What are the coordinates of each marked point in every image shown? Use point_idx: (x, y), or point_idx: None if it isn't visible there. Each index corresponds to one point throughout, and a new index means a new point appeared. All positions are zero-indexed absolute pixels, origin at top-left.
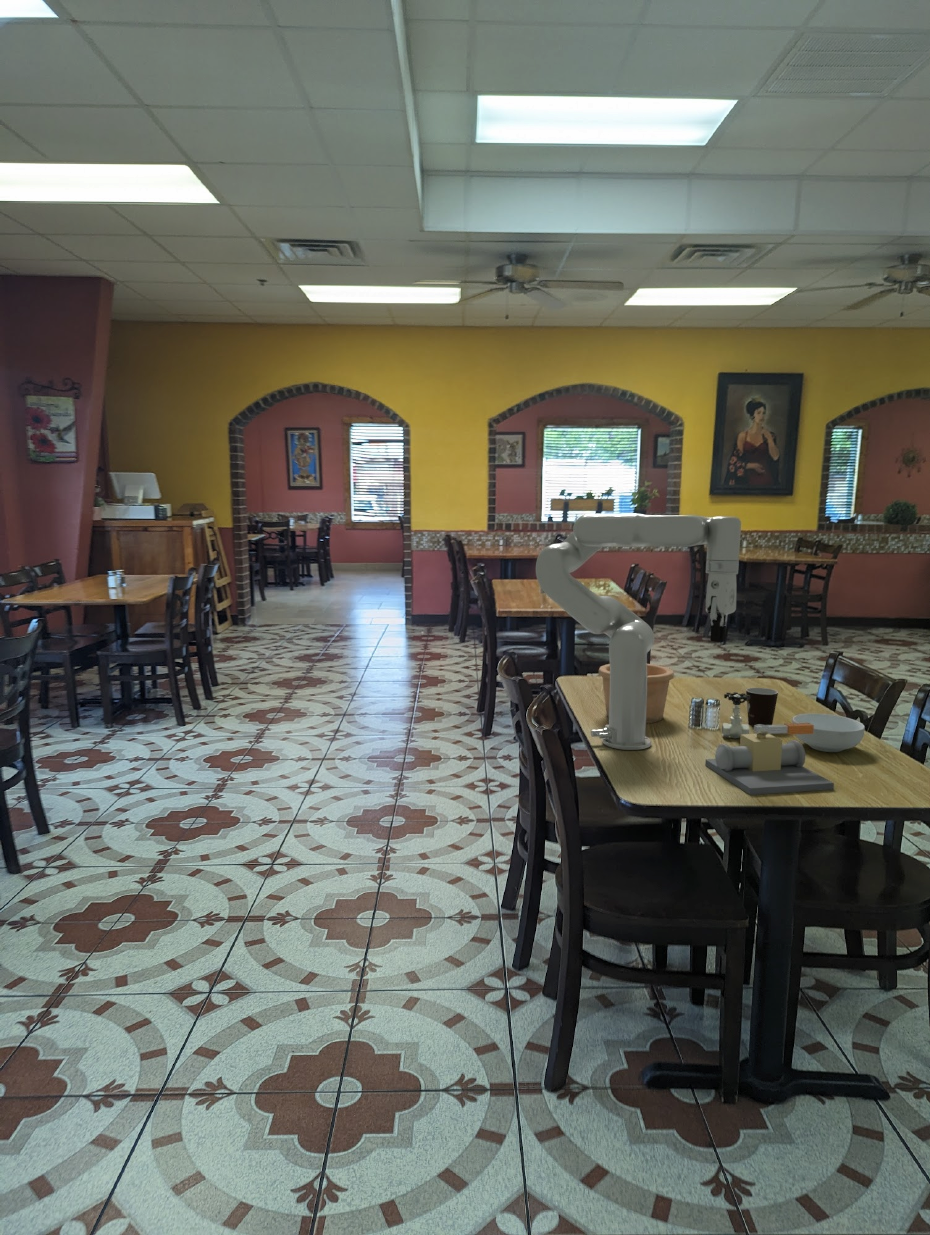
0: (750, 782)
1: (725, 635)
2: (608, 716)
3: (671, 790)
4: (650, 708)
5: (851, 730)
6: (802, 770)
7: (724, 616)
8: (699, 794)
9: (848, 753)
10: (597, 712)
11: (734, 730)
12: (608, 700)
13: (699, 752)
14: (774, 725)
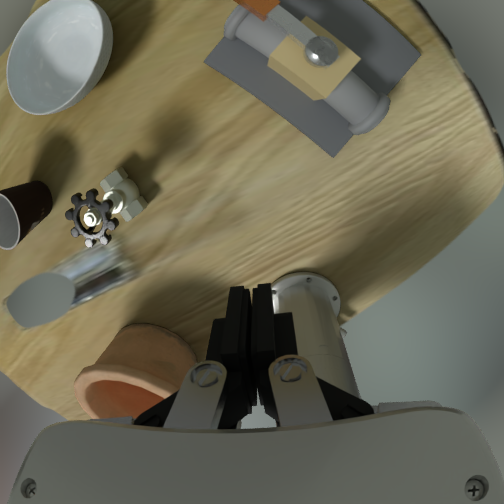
0: (398, 58)
1: (228, 306)
2: None
3: (460, 157)
4: (163, 345)
5: (28, 42)
6: None
7: (212, 428)
8: (454, 119)
9: None
10: None
11: (134, 190)
12: None
13: (263, 196)
14: (293, 29)
